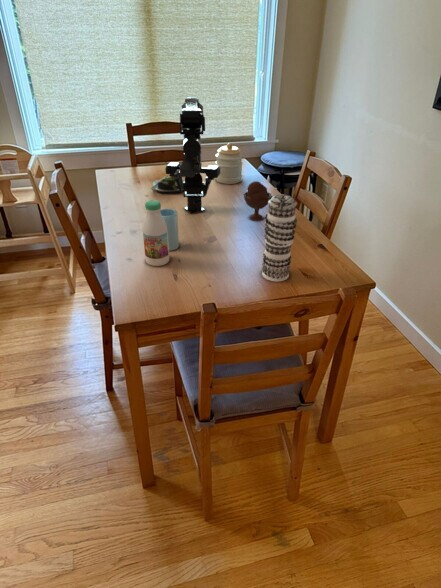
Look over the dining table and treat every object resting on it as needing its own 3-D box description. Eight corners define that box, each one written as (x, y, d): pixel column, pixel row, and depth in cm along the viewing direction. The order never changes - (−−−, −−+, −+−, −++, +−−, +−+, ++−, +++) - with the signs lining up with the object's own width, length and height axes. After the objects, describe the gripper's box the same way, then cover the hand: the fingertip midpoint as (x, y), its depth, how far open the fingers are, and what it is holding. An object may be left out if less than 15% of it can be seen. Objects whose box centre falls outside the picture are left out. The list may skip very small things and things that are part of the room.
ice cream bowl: (268, 224, 157) (271, 186, 149) (240, 222, 159) (241, 184, 151) (271, 214, 166) (274, 177, 158) (244, 211, 168) (246, 175, 159)
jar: (217, 175, 206) (217, 139, 196) (242, 176, 205) (244, 140, 195) (213, 183, 196) (213, 145, 186) (240, 185, 194) (242, 147, 184)
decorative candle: (269, 284, 122) (277, 205, 108) (255, 270, 129) (260, 194, 115) (295, 278, 125) (306, 201, 111) (280, 264, 132) (288, 190, 118)
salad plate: (148, 181, 197) (147, 171, 194) (185, 179, 200) (184, 169, 198) (151, 195, 181) (151, 185, 179) (191, 193, 185) (191, 183, 182)
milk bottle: (146, 255, 136) (140, 198, 125) (169, 254, 136) (166, 197, 125) (145, 267, 129) (138, 207, 118) (169, 266, 130) (165, 207, 119)
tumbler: (158, 242, 144) (155, 209, 137) (177, 240, 145) (175, 207, 138) (160, 251, 138) (157, 217, 131) (180, 249, 140) (178, 215, 133)
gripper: (158, 153, 134) (161, 199, 143) (213, 157, 131) (213, 203, 140) (169, 145, 143) (171, 188, 152) (220, 149, 140) (220, 192, 149)
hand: (193, 193), depth 148 cm, fingers open, 9 cm apart
